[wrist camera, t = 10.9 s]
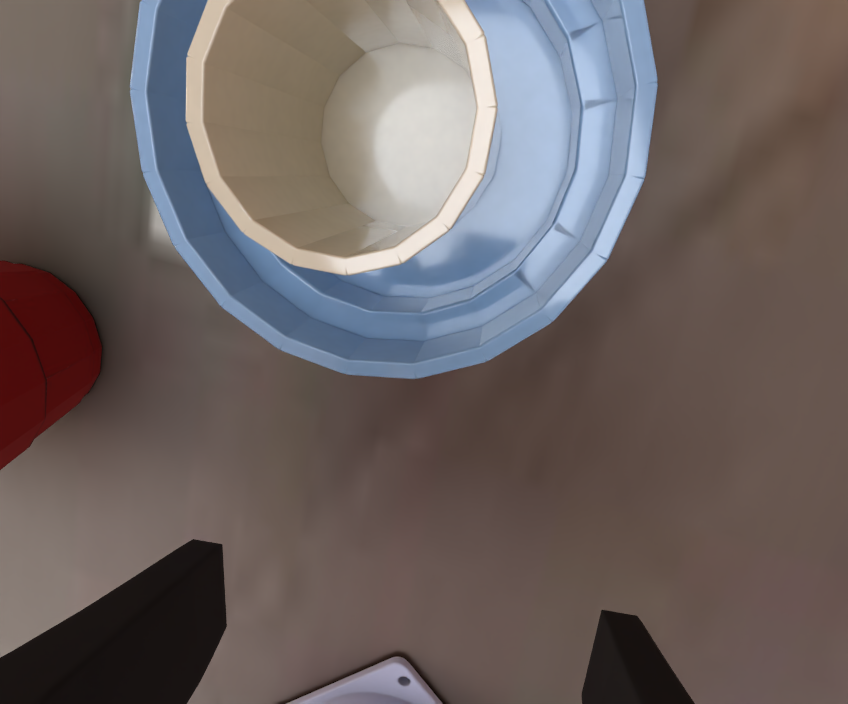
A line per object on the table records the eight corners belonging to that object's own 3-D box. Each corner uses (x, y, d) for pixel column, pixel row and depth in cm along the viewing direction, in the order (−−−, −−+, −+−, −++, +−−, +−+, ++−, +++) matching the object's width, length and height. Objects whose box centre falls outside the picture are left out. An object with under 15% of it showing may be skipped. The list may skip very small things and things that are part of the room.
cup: (537, 162, 15) (559, 153, 9) (388, 268, 17) (312, 327, 10) (428, -12, 14) (361, -168, 8) (281, 118, 16) (124, 78, 10)
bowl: (691, 192, 16) (759, 197, 11) (373, 391, 19) (335, 454, 15) (462, -210, 13) (441, -388, 9) (153, 98, 17) (35, 72, 13)
